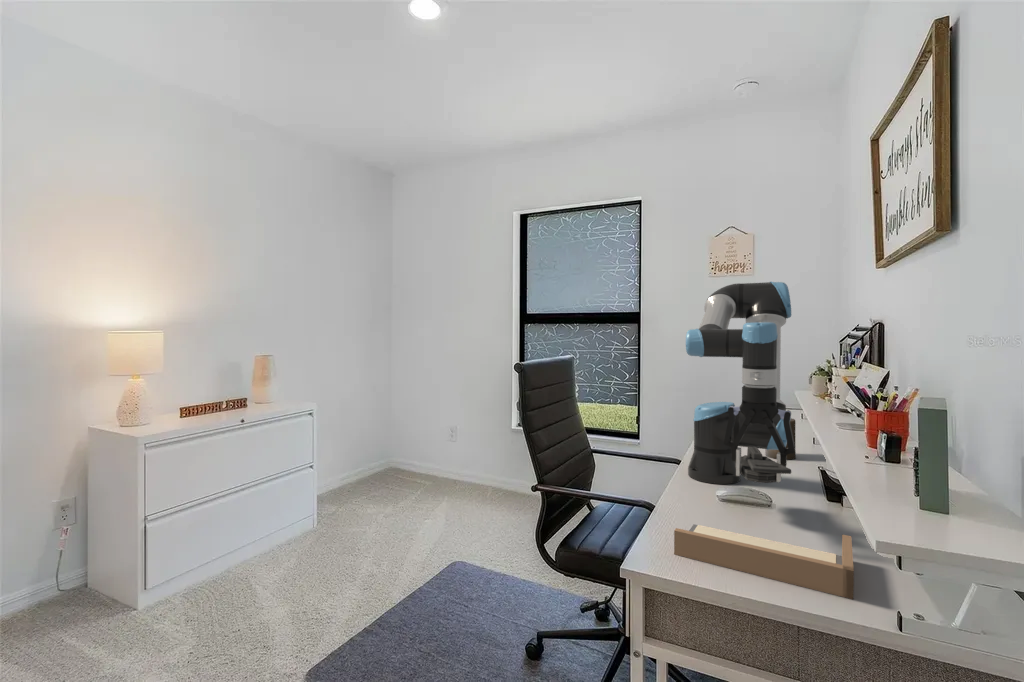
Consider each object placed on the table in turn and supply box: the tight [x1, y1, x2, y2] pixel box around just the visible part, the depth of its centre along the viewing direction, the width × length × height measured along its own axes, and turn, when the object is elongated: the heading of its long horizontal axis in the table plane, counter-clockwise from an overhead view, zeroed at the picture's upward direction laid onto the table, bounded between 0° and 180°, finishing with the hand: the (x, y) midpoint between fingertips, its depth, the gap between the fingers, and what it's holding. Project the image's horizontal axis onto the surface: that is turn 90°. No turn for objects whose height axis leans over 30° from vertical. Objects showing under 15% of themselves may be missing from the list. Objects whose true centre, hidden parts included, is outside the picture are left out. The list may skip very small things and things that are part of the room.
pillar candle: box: [764, 417, 797, 461], centre depth 175 cm, size 10×10×15 cm
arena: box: [673, 524, 855, 600], centre depth 99 cm, size 16×30×5 cm, turn 56°
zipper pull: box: [735, 447, 792, 484], centre depth 118 cm, size 9×7×25 cm
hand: (758, 477), depth 119 cm, fingers closed on zipper pull, 8 cm apart
